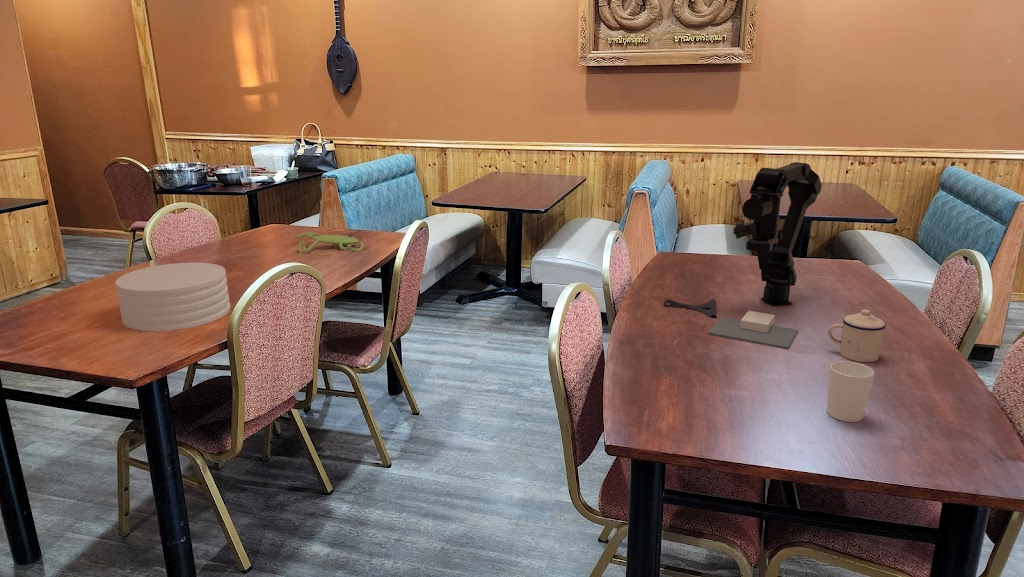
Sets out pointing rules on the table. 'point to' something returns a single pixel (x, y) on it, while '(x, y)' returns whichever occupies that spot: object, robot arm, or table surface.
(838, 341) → the teacup with lid
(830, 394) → the white cup
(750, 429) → the table surface
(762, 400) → the table surface
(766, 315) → the tile
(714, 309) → the bracket
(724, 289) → the table surface
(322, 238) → the figurine
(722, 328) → the mat
